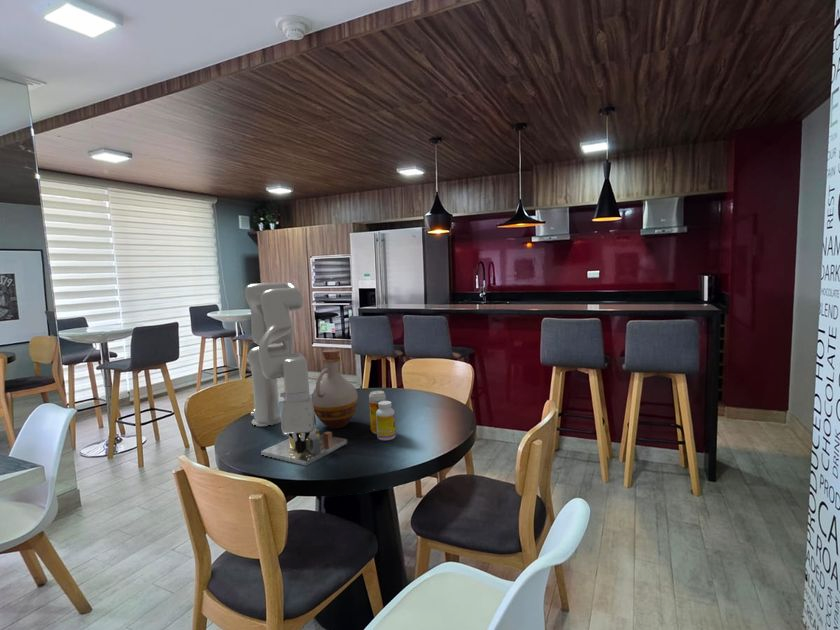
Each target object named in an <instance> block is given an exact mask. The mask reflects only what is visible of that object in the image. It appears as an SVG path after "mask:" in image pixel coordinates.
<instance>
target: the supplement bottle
mask: <svg viewBox="0 0 840 630" xmlns="http://www.w3.org/2000/svg"><path fill="white" fill-rule="evenodd" d="M378 406H379V409H378V410H377V411H376V422H377V434H376V436H377V437H376V438H377V439H378V440H380V441H391V440H394V439H395V438H396V436H397V435H396V415H395V409H394V408H392V407H393V406H392V401H389V400H386V401H381V402H379V403H378Z"/></svg>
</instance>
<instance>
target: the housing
mask: <svg viewBox="0 0 840 630" xmlns="http://www.w3.org/2000/svg"><path fill="white" fill-rule="evenodd" d="M319 436H320V450H321V453H320V454H317V455H313V454H311V453H310V452H309V451H308V450H307V449H305V450H304V452H303V453H298V454H297V450H296V449H292V448H290V444H289V438H287V439H284V440H283V441H280V442H278V443H276V444H274V445H272V446H270V447H267V448H265V449H263V450H261V451H260V453H261V455H264V456H263V457H265V456H268V457H267V458H270V457H272V458H271V459H274V458H277V459H276V460H278V459H280V461H283V460H284V461H283V462H287V461H288V462H287V463H291V462H292V463H293V464H297V465H301V466H304V467H305V466H306V467H307V466H308V465H310V464H312V463H314V462H316V461H317V460H319V459H321V458H323V457H325V456H327V455H329V454H330V453H332V452H334V451H336V450H337V449H339V448H341V447H343V446H344V445H347V444H348V438H342V437H336V436H333V431H325V432H323V434H320V433H319Z"/></svg>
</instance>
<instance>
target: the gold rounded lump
mask: <svg viewBox="0 0 840 630" xmlns="http://www.w3.org/2000/svg"><path fill="white" fill-rule="evenodd" d="M316 430H317V432H316V433H315V434H312V435H309V436H308V437H307V438H306V449H307V450H308V451H309V452H310V453H311V454H313V455H317V454H320V453H321V450H320V436H319V434H320V429H317V428H316ZM299 437H300V438H301V433H299ZM288 439H289V444H290V448H292V449H295V441H294V440H293V439H292V438H291V437H290V436H288Z"/></svg>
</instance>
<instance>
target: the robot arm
mask: <svg viewBox="0 0 840 630" xmlns="http://www.w3.org/2000/svg"><path fill="white" fill-rule="evenodd" d="M244 297H245V299H246V300H245V301H246V302H247V304H248V307H249V309H250V316H251V317H250V319H251V320H250V321H251V325H250V326H251V328H250V329H251V339H252V342H253V343H255V344H256V345H258V346H255V347H253V348H251V349H250V350H249V351H248V353H247V358H248V365H249V367H250V372H251V379H252V392H253V403H254V408H253V410H252V411H251V412H250V416H253V419H252V420H251V425H252V424H253V426H254V425H256V426H255V427H269V426H268V425H271V426H274V424H275V425H278V424H281V425H280V426H281V428H280V429H281V432H282V435H283V436H287V437H289V436H290V437H291V438H292V439H293V440H294V441H295V449H296V450H297V454H298V453H303V452H304V450H305V449H306V438H307V437H308V436H309V435H312V434H315V433H316V432H317V427H316V426H317V417H316V414H315V411H314V406H313V402H312V397H310V384H309V383H310V382H309V369H308V361H307V358H306V357H305V356H304V354H302V353H300V352H294V327H293V323H292V319H291V318H292V317H291V315H290V312H297V311H301V310H302V308H303V306H304V299H303V295H302V293H301V291H300V289H299V288H298V287H297V286H295V285H294V284H293V283H291V282H285V281H284V282H262V283H261V282H260V283H259V282H258V283H250V284H248V285H247V286H246V287H245V289H244ZM278 379H283V387H284V390H283V392H281V393H280V394H279V389H278V388H279V386H278V385H279V384H278ZM279 395H280V397H279ZM279 398H283V399H284V400H283V401H282V405H281V411H280V402H279V401H280V399H279ZM280 412H281V413H280ZM299 433H301V438H300V437H299Z"/></svg>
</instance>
